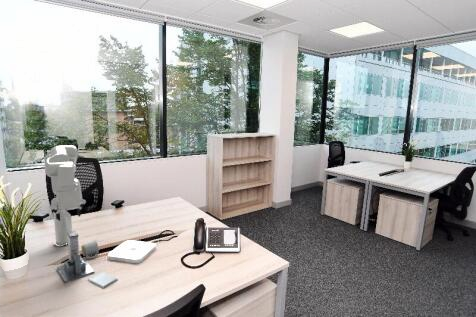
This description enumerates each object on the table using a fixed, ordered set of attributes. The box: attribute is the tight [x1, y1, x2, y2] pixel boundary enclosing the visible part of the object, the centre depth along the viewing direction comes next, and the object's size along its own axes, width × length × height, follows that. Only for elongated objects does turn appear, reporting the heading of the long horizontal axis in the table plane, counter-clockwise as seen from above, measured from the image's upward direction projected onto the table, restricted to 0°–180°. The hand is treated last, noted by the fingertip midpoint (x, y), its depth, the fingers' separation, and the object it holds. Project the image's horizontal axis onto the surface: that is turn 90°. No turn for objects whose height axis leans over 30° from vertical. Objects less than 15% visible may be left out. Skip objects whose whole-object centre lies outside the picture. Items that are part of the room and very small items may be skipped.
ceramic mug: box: [80, 240, 100, 260], centre depth 168 cm, size 11×8×8 cm
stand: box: [56, 252, 95, 284], centre depth 151 cm, size 18×14×12 cm
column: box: [67, 230, 80, 263], centre depth 149 cm, size 6×4×15 cm, turn 44°
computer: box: [107, 239, 157, 264], centre depth 173 cm, size 22×22×3 cm
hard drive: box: [87, 271, 118, 289], centre depth 143 cm, size 2×8×12 cm
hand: (69, 217), depth 151 cm, fingers open, 9 cm apart
